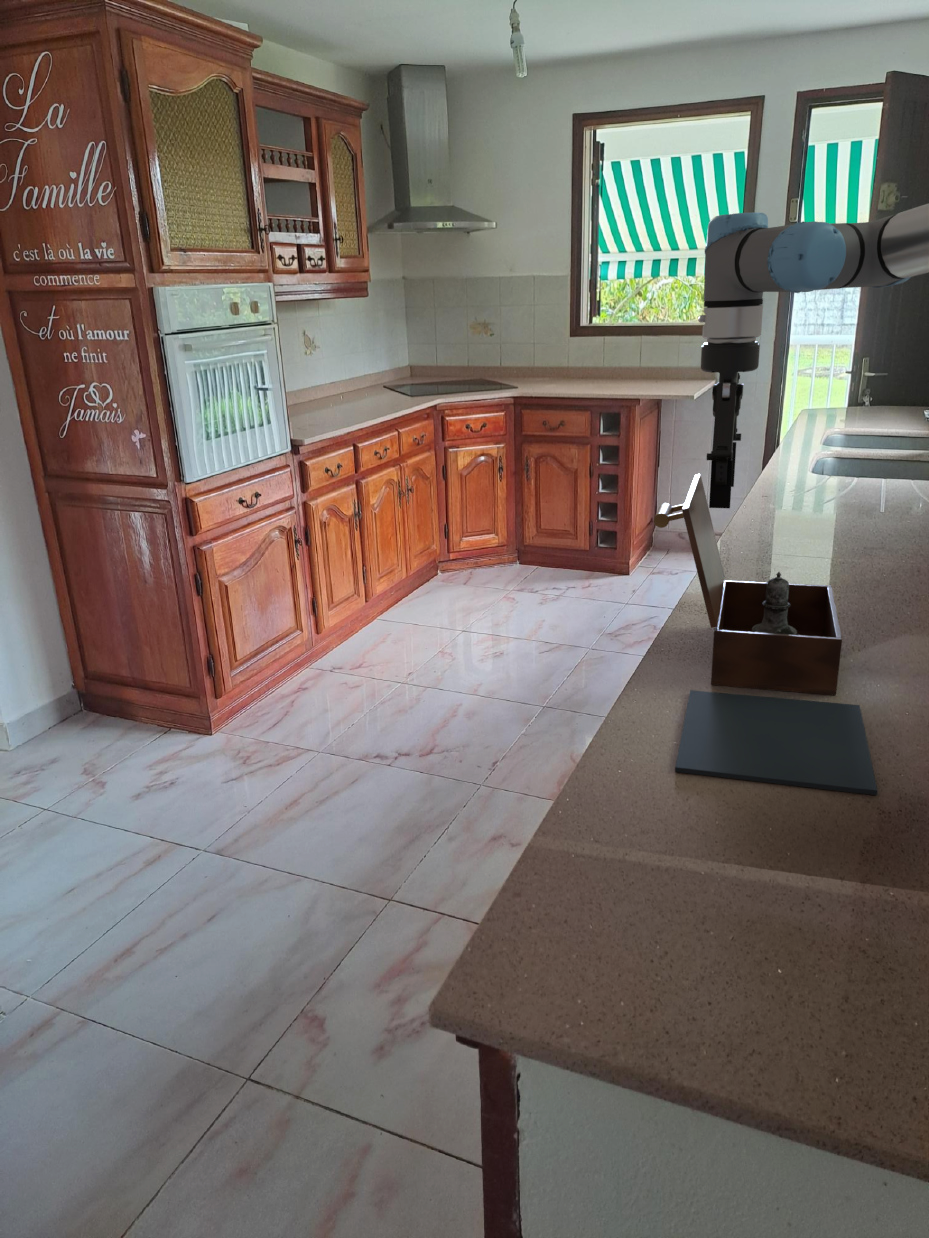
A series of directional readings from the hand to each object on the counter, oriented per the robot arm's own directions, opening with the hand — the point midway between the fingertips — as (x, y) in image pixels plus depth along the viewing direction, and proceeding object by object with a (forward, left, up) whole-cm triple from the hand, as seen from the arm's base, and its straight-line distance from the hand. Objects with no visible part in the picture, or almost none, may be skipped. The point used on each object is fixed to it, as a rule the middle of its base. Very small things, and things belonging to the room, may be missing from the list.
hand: (722, 496), depth 125 cm
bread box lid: (+1, +9, -5) cm, 10 cm away
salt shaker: (-8, +9, -20) cm, 24 cm away
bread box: (-8, +9, -21) cm, 24 cm away
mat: (-8, +33, -21) cm, 39 cm away
